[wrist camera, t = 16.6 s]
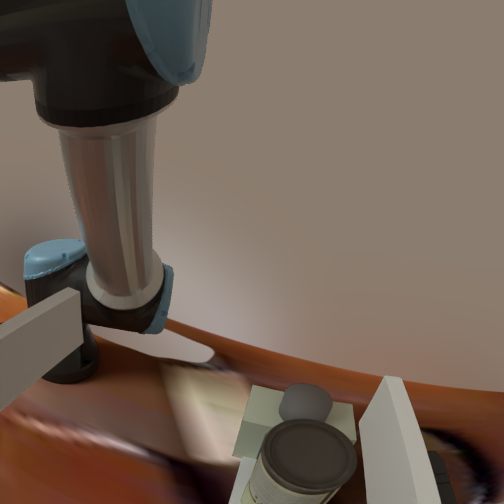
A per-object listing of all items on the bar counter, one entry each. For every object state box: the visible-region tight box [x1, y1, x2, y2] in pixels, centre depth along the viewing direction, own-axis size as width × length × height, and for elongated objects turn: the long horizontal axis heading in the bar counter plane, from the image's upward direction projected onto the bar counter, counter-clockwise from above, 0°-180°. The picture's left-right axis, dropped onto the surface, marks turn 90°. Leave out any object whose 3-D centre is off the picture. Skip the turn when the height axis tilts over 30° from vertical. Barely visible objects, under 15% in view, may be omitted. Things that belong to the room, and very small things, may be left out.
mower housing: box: [229, 383, 357, 504], centre depth 33 cm, size 21×16×12 cm
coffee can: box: [240, 419, 357, 504], centre depth 27 cm, size 10×10×14 cm
